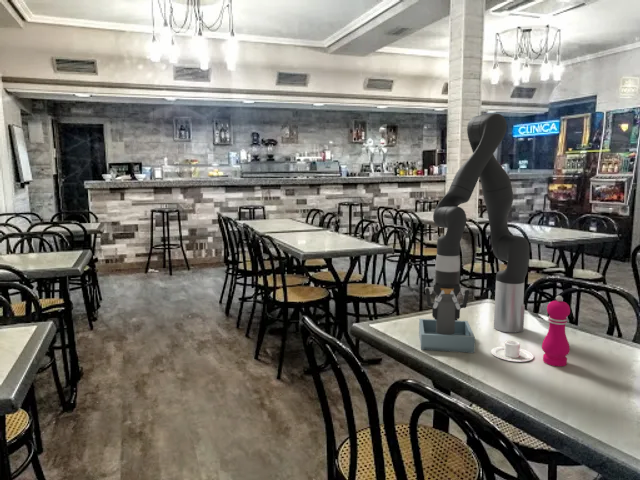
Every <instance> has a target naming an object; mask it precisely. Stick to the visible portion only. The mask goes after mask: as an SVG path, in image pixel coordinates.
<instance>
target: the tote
mask: <svg viewBox="0 0 640 480" xmlns="http://www.w3.org/2000/svg"><path fill="white" fill-rule="evenodd" d="M418 324H419V325H418V334H419V335H418V336H419V344H420V350H421V351H435V352H436V351H437V352H439V351H440V352H453V353H472V354H474V353H475V344H476V343H475V341H476V338H475V337H476V336H475V335H474V332H473V330H472V327H471V326H470V323H469V321H468V320H459V319H457V321H455V331H454V334H452V335H443V334H439V333H437V332H436V320H435V319H434V318H432V319H430V318H419V322H418Z"/></svg>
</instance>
